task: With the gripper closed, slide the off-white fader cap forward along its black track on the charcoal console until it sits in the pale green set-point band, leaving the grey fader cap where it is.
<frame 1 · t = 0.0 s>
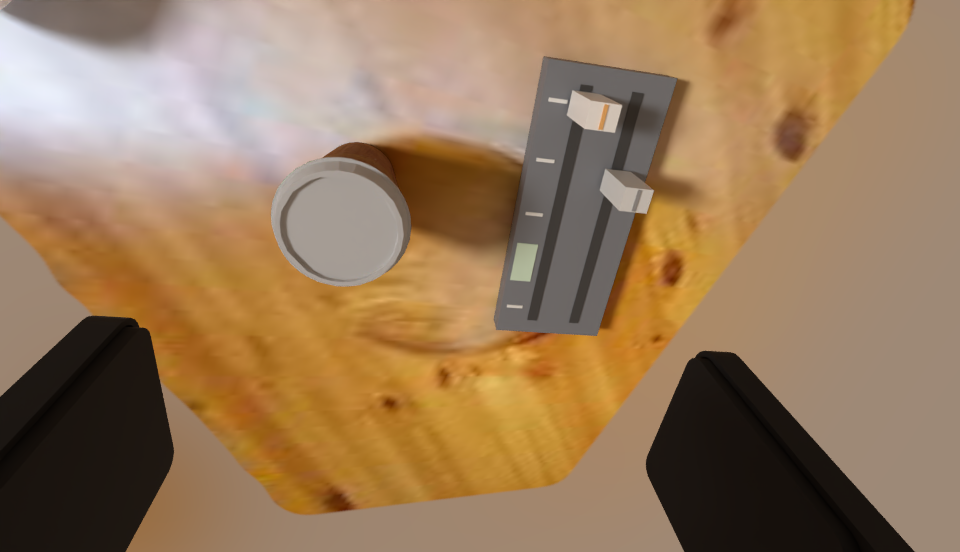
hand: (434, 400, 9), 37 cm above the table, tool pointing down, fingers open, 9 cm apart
disposable coffee cup: (359, 176, 44), on the table
console: (570, 210, 47), on the table
fader a: (593, 110, 38), point 5 cm above the table, slide at 0.0 cm
fader b: (625, 190, 42), point 5 cm above the table, slide at 6.0 cm
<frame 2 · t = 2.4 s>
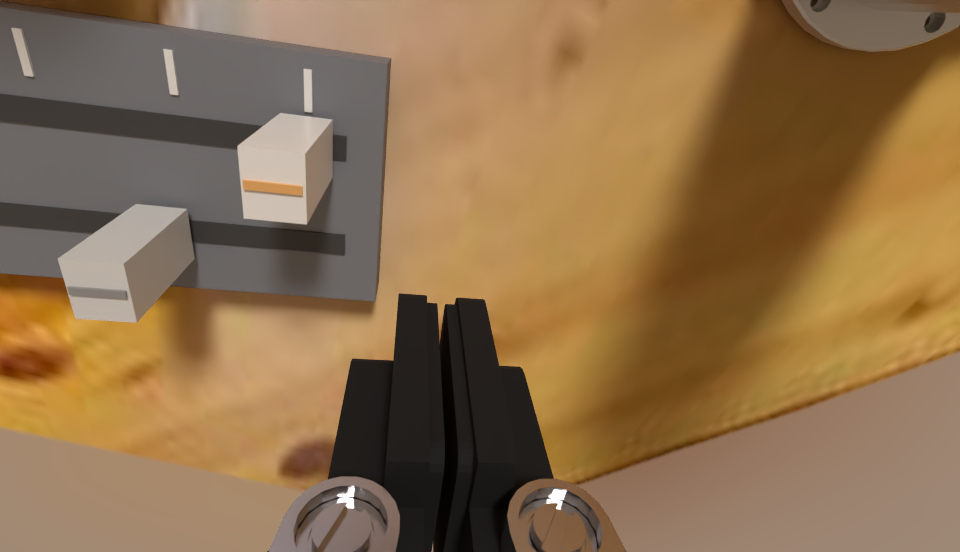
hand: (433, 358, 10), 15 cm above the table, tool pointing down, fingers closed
console: (84, 149, 22), on the table
fader a: (292, 164, 18), point 5 cm above the table, slide at 0.0 cm
fader b: (135, 259, 19), point 5 cm above the table, slide at 6.0 cm
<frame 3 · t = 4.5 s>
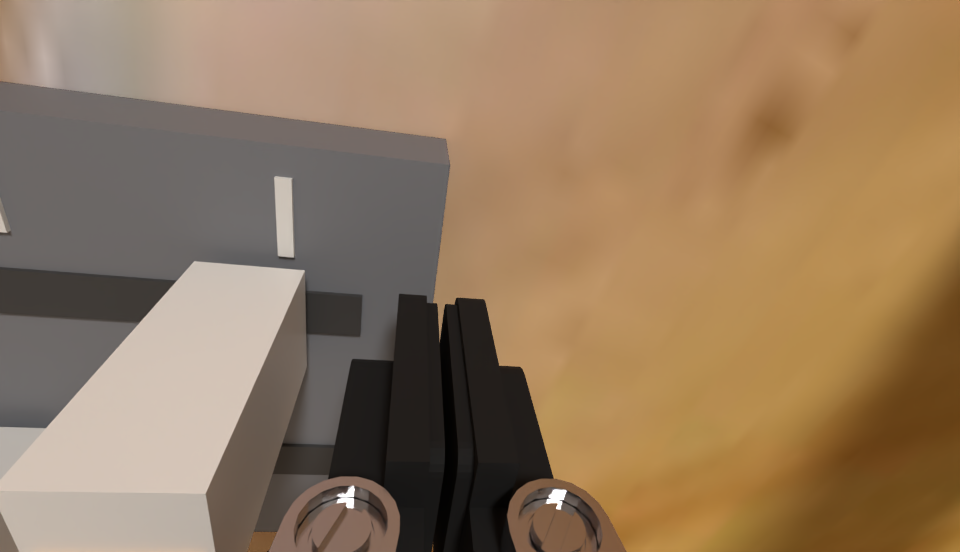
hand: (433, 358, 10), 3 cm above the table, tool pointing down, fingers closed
fader a: (206, 408, 8), point 5 cm above the table, slide at 0.6 cm, touching gripper
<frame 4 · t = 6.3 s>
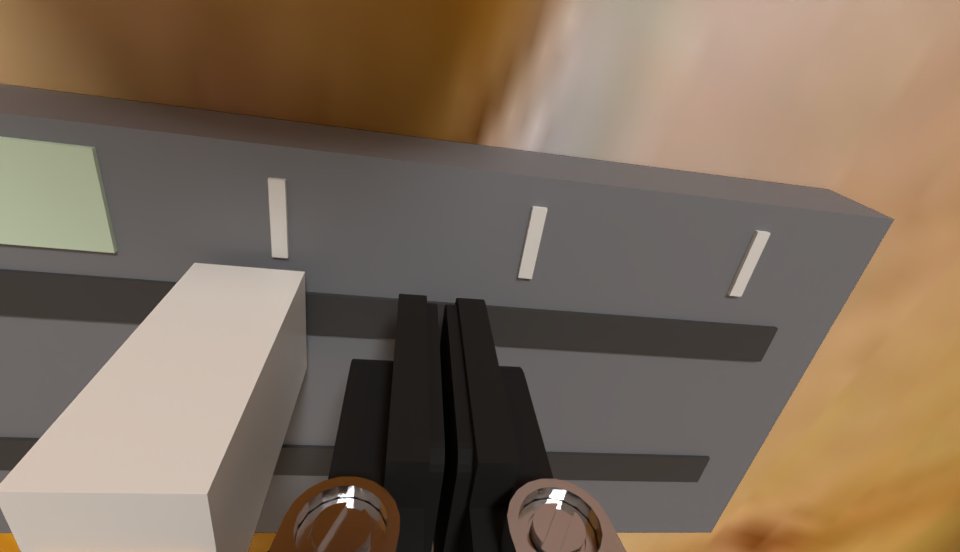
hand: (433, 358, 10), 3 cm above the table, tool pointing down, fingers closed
console: (304, 332, 13), on the table
fader a: (206, 409, 8), point 5 cm above the table, slide at 10.5 cm, touching gripper
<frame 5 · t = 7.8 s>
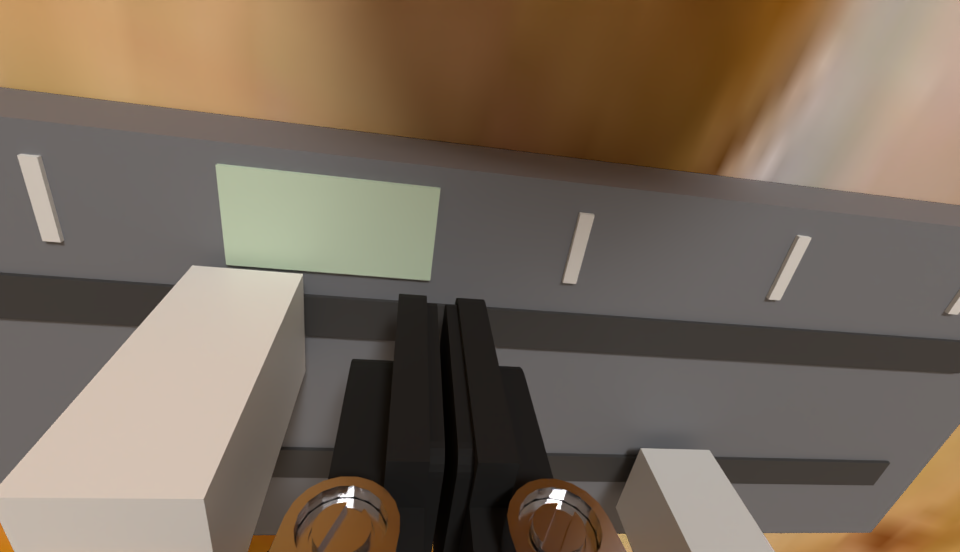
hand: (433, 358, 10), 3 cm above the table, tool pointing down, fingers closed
console: (523, 347, 14), on the table
fader a: (204, 412, 8), point 5 cm above the table, slide at 16.5 cm, touching gripper
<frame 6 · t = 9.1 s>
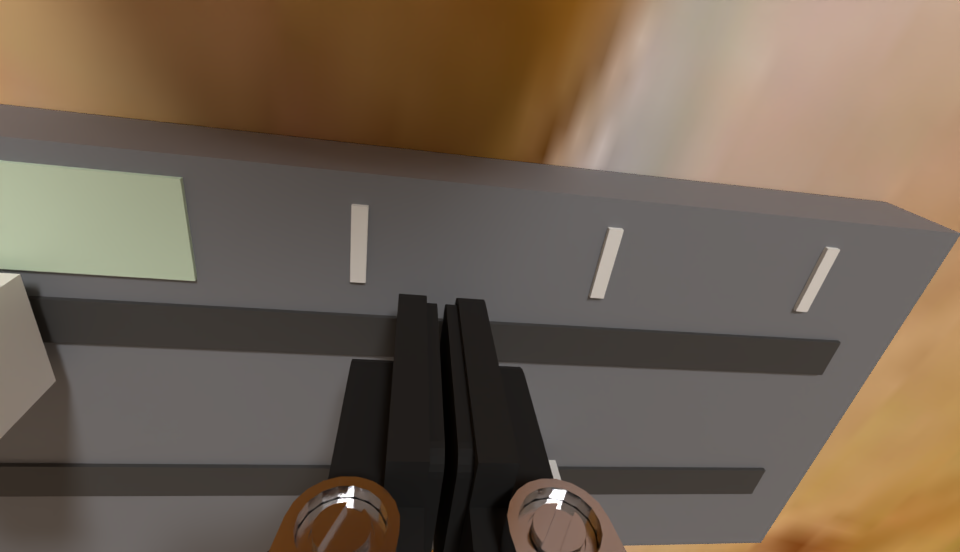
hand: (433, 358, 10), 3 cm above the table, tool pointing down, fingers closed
console: (363, 351, 13), on the table
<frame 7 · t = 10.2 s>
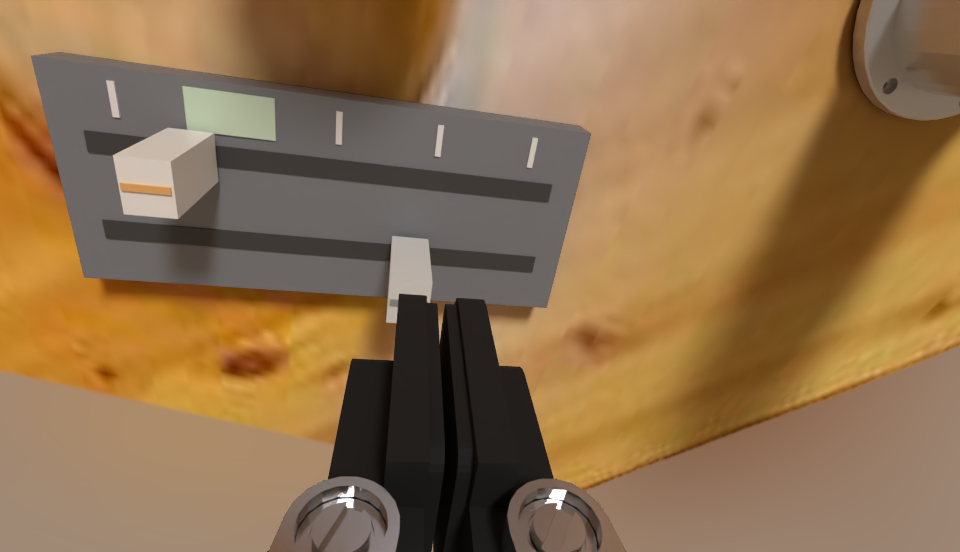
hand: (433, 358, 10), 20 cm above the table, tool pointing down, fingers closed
console: (341, 193, 28), on the table
fader a: (172, 170, 22), point 5 cm above the table, slide at 16.7 cm
fader b: (408, 278, 26), point 5 cm above the table, slide at 6.0 cm
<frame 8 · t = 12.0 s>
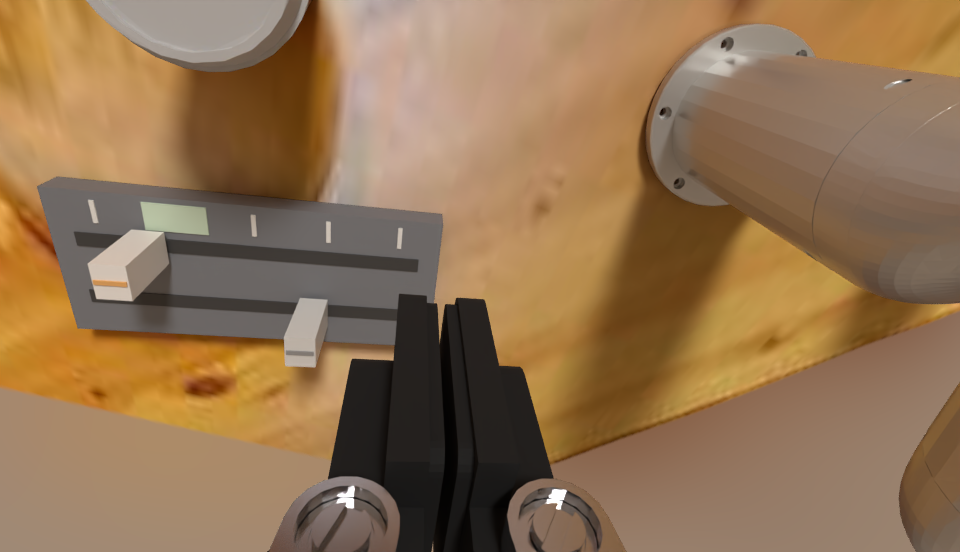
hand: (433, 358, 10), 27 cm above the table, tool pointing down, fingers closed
console: (265, 264, 38), on the table
fader a: (131, 264, 31), point 5 cm above the table, slide at 16.7 cm
fader b: (307, 331, 35), point 5 cm above the table, slide at 6.0 cm
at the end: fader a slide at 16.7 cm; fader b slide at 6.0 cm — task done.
